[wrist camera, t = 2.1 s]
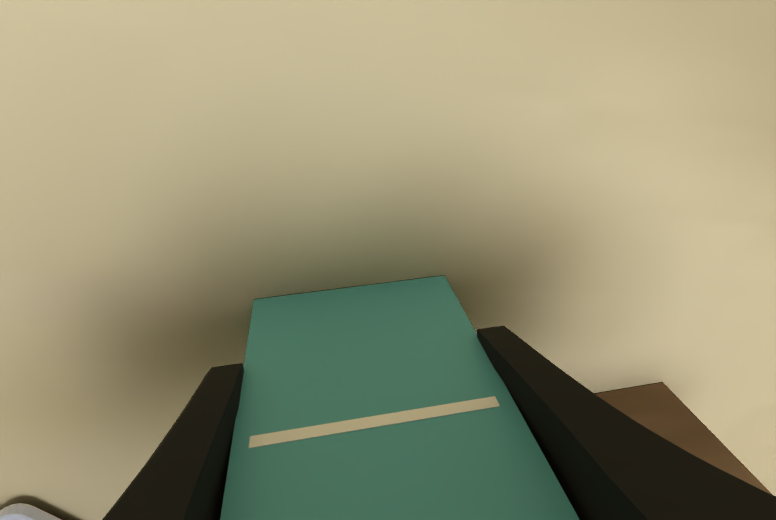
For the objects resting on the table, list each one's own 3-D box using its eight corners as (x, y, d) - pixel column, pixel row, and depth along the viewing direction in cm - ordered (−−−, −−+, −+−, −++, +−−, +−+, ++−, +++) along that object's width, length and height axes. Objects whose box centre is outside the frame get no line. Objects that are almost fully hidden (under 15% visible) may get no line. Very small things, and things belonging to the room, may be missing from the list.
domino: (443, 324, 13) (658, 789, 5) (264, 349, 12) (208, 925, 5) (444, 274, 12) (702, 739, 4) (253, 298, 12) (160, 893, 4)
